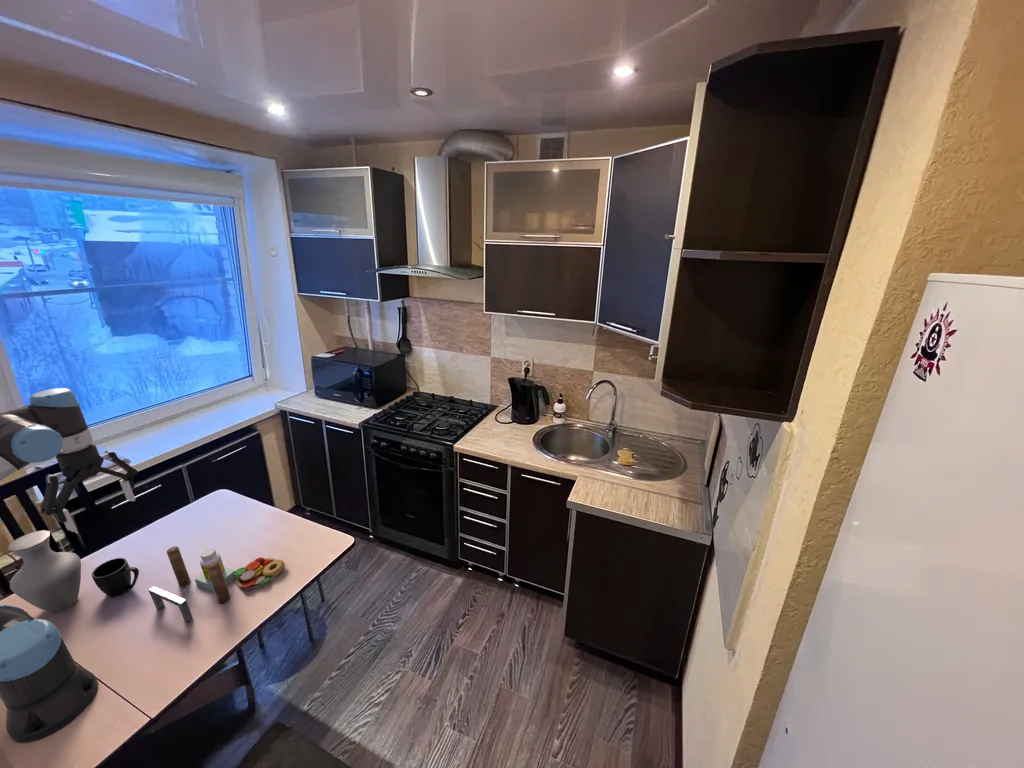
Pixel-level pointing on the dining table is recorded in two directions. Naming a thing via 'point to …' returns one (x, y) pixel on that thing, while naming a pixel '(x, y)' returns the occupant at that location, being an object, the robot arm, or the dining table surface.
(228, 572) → the stand
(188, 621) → the rail hurdle
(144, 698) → the dining table surface
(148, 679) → the dining table surface
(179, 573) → the post far
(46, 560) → the vase
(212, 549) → the supplement bottle
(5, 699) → the robot arm
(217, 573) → the post near
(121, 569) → the mug
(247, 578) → the toy food set
